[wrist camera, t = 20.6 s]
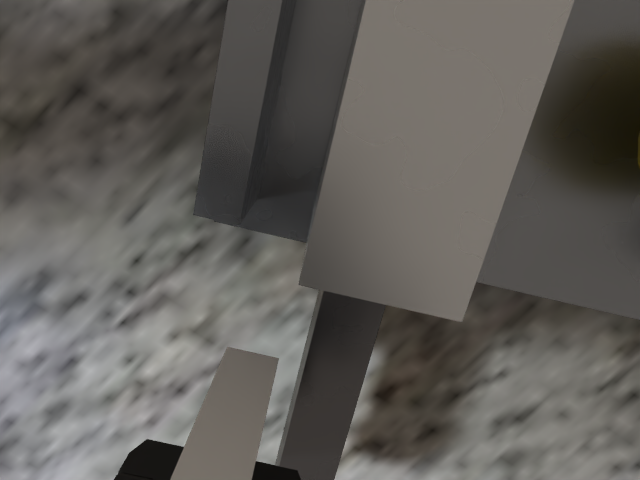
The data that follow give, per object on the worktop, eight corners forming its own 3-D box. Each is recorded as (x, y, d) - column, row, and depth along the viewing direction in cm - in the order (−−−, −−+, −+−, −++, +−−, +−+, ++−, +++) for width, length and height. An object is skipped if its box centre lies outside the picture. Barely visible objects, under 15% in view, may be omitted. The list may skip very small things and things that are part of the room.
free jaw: (247, 489, 19) (197, 709, 12) (393, -136, 13) (452, -366, 6) (325, 506, 19) (318, 733, 12) (505, -106, 13) (679, -303, 6)
